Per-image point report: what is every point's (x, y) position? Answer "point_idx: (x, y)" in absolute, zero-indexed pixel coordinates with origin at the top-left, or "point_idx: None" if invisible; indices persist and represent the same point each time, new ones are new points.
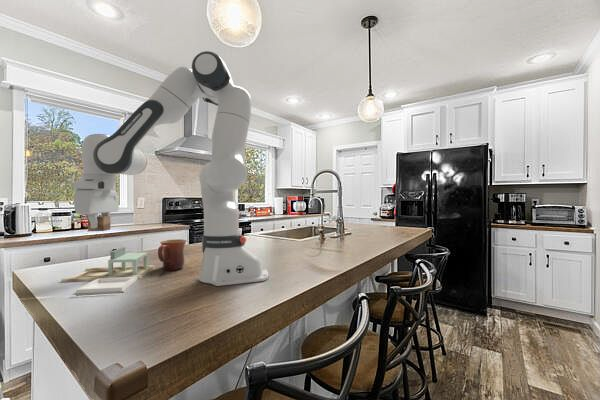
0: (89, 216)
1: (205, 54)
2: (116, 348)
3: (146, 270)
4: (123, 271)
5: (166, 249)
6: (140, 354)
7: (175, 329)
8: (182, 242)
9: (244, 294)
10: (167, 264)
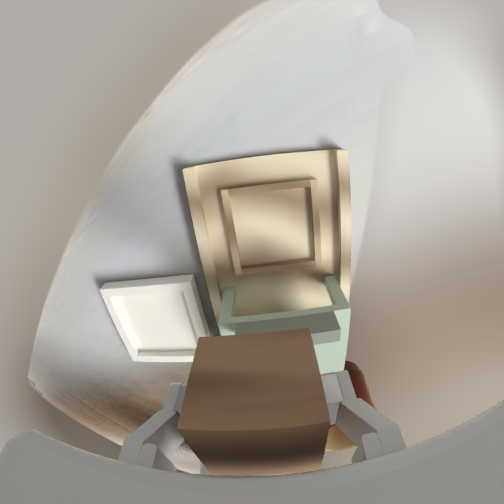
0: (129, 449)
1: None
2: (41, 380)
3: None
4: (310, 287)
5: None
6: (45, 392)
7: (77, 409)
8: (327, 449)
9: None
10: None
